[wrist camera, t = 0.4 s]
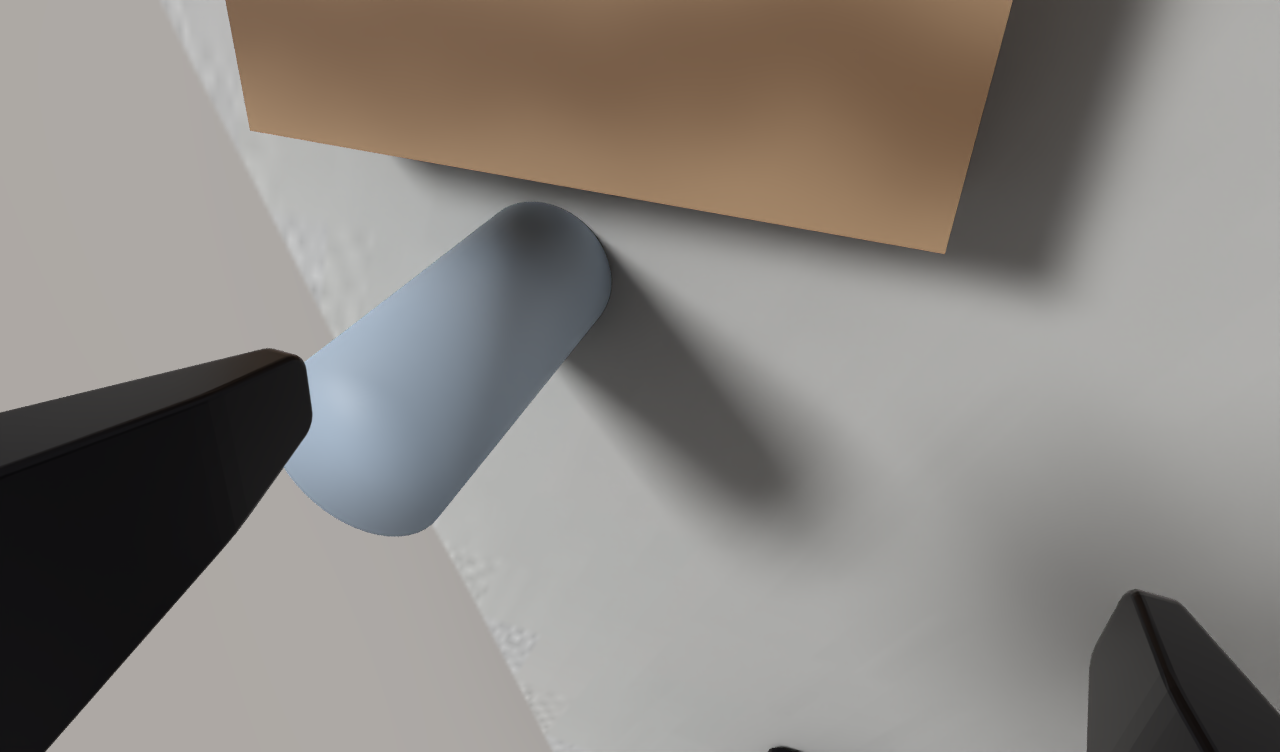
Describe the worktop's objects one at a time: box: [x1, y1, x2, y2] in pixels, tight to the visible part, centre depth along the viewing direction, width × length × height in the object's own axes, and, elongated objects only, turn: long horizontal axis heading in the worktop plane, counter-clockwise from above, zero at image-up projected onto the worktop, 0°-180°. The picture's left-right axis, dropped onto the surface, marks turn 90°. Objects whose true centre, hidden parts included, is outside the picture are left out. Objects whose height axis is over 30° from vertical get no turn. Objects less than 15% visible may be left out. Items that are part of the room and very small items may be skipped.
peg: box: [284, 202, 611, 536], centre depth 21 cm, size 4×4×9 cm
